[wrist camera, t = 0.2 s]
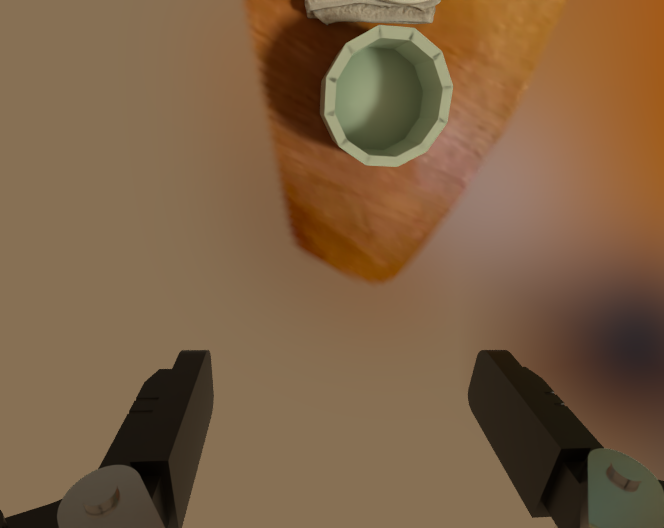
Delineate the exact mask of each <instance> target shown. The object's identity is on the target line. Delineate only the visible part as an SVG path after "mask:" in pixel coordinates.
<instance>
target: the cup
mask: <svg viewBox="0 0 664 528" xmlns="http://www.w3.org/2000/svg"><path fill="white" fill-rule="evenodd" d="M452 91H453V84H452V81H451V78H450V75H449V72H448V69H447V66H446V62H445V59H444V56H443V53H442V51H441V50H440V49H439V48H437V47H436V46H435V45H434V44H433V43H432V42H430V41H429V40H428V39H427V38H426V37H425V36H423V35H422V34H421V33H420V32H419V31H418V30H416V29H415V28H409V27H398V26H387V25H378V26H376V27H374V28H372V29H371V30H369V31H367V32H365V33H363V34H362V35H360V36H358V37H356V38H355V39H353V40H351V41H349V42H347V43H346V44H345V45H344V46H343V47H342V49H341V50H340V51H339V52H338V53H337V55H336V57H335V58H334V60H333V62H332V64H331V65H330V67H329V69H328V70H327V72H326V74H325V76H324V77H323V79H322V81H321V94H320V115H321V117H322V119H323V121H324V124H325V126H326V128H327V130H328V132H329V134H330V136H331V138H332V140H333V141H334V142H335V143H336V144H337V145H338V146H339V147H340V148H342V149H343V150H344V151H346V152H347V153H349V154H350V155H352V156H353V157H355V158H356V159H358V160H359V161H360V162H362V163H363V164H365V165H371V166H392V167H398V166H400V165H402V164H404V163H406V162H408V161H409V160H411V159H413V158H415V157H417V156H419V155H421V154H423V153H425V152H427V150H428V149H429V148H430V146H431V145H432V143H433V142H434V141H435V139H436V138H437V136H438V135H439V134H440V132H441V131H442V129H443V128H444V127H445V125H446V124H447V120H448V114H449V109H450V103H451V97H452Z"/></svg>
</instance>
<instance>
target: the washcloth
mask: <svg viewBox="0 0 664 528" xmlns="http://www.w3.org/2000/svg"><path fill="white" fill-rule="evenodd" d="M440 1H441V0H431V1H428V2H425V3H422V4H418V5H410V6H405V5H395V4H390V3H387V2H384V1H382V0H305V8H306V12H307V17H308V18H318V19H319V20H321V21H322V22H323V23H325V24H326V25H327V26H328V24H329V23H330V24H331V23H334V22H343V21H344V22H370V23H403V24H421V23H432V22H433V15H434V14H435V5H437V4H438V3H440Z"/></svg>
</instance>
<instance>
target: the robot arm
mask: <svg viewBox="0 0 664 528" xmlns="http://www.w3.org/2000/svg"><path fill="white" fill-rule="evenodd" d="M213 397H214V395H213V380H212V368H211V356H210V352H209V350H191V351H189V350H184V351H183V350H182V351H181V352H180V353H179V355H178V357H177V359H176V362H175V364H174V366H173V368H172V369H159V370H158V371H157V372H156V373H155V374H153V375H152V376H151V377H150V378H149V379H148V380H147V381H146V382H144V384H143V386H142V388H141V390H140V392H139V394H138V396H137V397H136V401H134V403H133V405H132V407H131V409H130V411H129V414H127V416H126V418H125V420H124V422H123V424H122V426H121V428H120V429H119V431H118V433H117V435H116V437H115V439H114V441H113V443H112V444H111V446H110V448H109V450H108V452H107V454H106V456H105V458H104V460H103V461H102V463H101V465H100V467H99V468H98V470H95V471H93V472H91V473H89V474H88V475H86V476H84V477H83V478H82V479H80V480H79V481H78V482H76V483H75V485H73V486H72V487H71V488H70V489H69V490H68V492H67V493H66V494H65V496H64V497H63V499H61V500H59V501H57V502H54V503H51V504H48V505H45V506H42V507H39V508H36V509H32V510H29V511H26V512H23V513H20V514H17V515H13V516H10V517H7V518H4V516H3V513H2V512H1V510H0V528H182V525H183V521H184V517H185V514H186V510H187V506H188V502H189V498H190V495H191V491H192V487H193V483H194V479H195V476H196V472H197V468H198V464H199V460H200V457H201V453H202V449H203V445H204V442H205V438H206V434H207V430H208V427H209V423H210V419H211V415H212V409H213ZM468 401H469V405H470V408H471V410H472V412H473V414H474V416H475V418H476V419H477V421H478V423H479V425H480V427H481V428H482V430H483V432H484V434H485V435H486V437H487V439H488V441H489V442H490V444H491V446H492V448H493V450H494V451H495V453H496V455H497V456H498V458H499V460H500V462H501V463H502V465H503V467H504V469H505V470H506V472H507V474H508V476H509V478H510V479H511V481H512V483H513V485H514V486H515V488H516V490H517V492H518V493H519V495H520V497H521V499H522V500H523V502H524V504H525V506H526V508H527V509H528V511H529V513H530V514H531V516H532V518H533V517H552V519H553V520H554V522H555V524H556V526H555V528H664V481H661V480H657V478H656V477H655V476H654V475H653V474H652V473H651V472H650V471H649V470H648V469H647V468H646V467H645V466H643V465H642V464H641V463H639V462H638V461H636V460H635V459H633V458H631V457H630V456H628V455H626V454H623V453H621V452H618V451H616V450H611V449H606V448H604V447H603V446H602V445H601V444H600V443H599V442H598V441H597V439H595V437H594V436H593V435H592V434H591V433H590V432H589V431H588V430H587V428H586V427H585V426H584V425H583V424H582V423H581V422H580V421H579V419H578V418H577V417H576V416H575V415H574V414H573V412H572V411H571V410H570V409H569V408H568V407H567V406H565V405H564V402H563V401H562V400H561V399H560V398H559V397H558V396H557V395H555V394H554V391H553V390H552V389H551V388H550V387H549V386H548V384H547V383H546V382H545V381H544V380H543V379H542V378H541V377H539V376H538V375H536V374H535V373H534V372H532V371H531V370H529V369H528V368H526V367H522V366H521V365H520V364H519V362H518V361H517V360H516V359H515V358H514V357H513V355H512V354H511V353H510V352H509V351H507V350H482V351H480V352H479V353H478V355H477V359H476V363H475V367H474V370H473V375H472V378H471V382H470V386H469V390H468Z"/></svg>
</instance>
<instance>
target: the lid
mask: <svg viewBox="0 0 664 528" xmlns="http://www.w3.org/2000/svg"><path fill="white" fill-rule="evenodd" d="M382 1H384V2H387V3H390V4H395V5H405V6H410V5H418V4H422V3H425V2H428V1H431V0H382Z"/></svg>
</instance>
